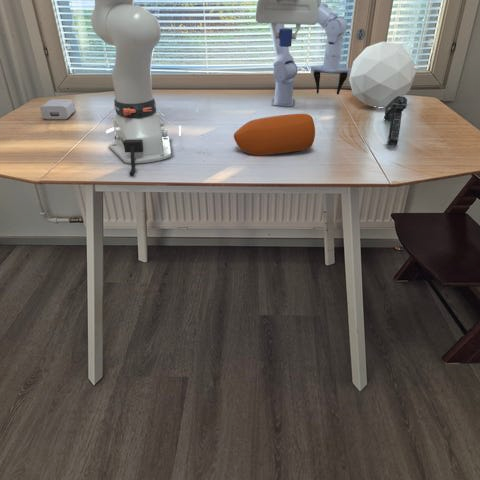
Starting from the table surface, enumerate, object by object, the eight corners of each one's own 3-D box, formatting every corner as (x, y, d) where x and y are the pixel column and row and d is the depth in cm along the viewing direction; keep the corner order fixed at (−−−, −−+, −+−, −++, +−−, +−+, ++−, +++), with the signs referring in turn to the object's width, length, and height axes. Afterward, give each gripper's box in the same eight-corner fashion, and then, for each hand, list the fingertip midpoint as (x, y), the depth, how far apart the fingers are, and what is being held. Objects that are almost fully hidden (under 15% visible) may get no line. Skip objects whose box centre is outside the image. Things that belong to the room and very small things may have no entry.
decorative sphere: (334, 74, 174) (357, 27, 150) (388, 72, 178) (419, 26, 154) (346, 121, 167) (373, 80, 143) (402, 118, 171) (437, 78, 147)
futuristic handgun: (389, 146, 153) (397, 104, 149) (399, 145, 125) (409, 94, 122) (379, 144, 154) (386, 103, 150) (386, 144, 126) (395, 93, 122)
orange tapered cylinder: (237, 164, 122) (319, 153, 123) (234, 130, 116) (319, 118, 117) (233, 149, 132) (309, 139, 133) (230, 116, 126) (309, 106, 127)
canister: (291, 47, 135) (292, 30, 132) (278, 46, 135) (279, 30, 132) (290, 44, 138) (292, 28, 135) (278, 44, 138) (279, 28, 136)
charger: (80, 107, 160) (68, 119, 148) (56, 106, 160) (42, 119, 148) (77, 94, 158) (65, 106, 145) (53, 94, 157) (39, 106, 145)
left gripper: (322, -10, 128) (317, 38, 136) (258, -11, 132) (257, 36, 139) (321, -9, 123) (316, 41, 131) (255, -10, 126) (253, 39, 134)
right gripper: (312, 56, 146) (308, 95, 154) (353, 58, 144) (347, 97, 152) (312, 52, 152) (308, 90, 159) (352, 54, 150) (346, 92, 158)
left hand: (285, 39), depth 135 cm, fingers closed on canister, 4 cm apart
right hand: (327, 93), depth 156 cm, fingers open, 7 cm apart
